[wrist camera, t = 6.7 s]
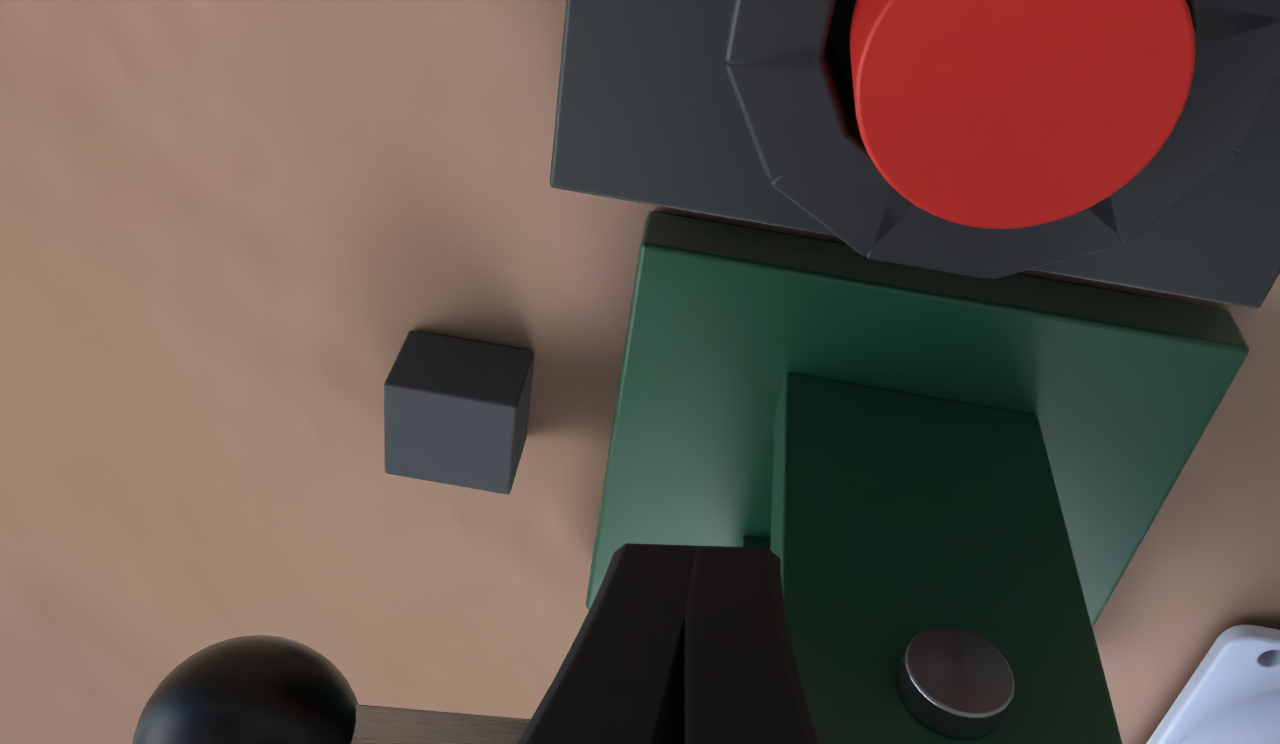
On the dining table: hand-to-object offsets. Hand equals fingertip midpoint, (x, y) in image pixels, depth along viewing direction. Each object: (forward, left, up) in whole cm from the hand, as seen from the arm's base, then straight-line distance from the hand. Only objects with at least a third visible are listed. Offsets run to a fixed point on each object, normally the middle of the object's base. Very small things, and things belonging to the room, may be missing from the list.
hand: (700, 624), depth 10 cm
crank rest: (+4, +6, -10) cm, 13 cm away
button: (-3, -3, -7) cm, 8 cm away
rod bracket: (-4, +6, -10) cm, 13 cm away
